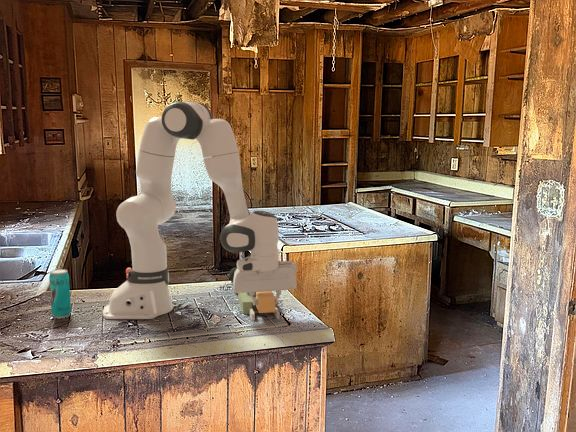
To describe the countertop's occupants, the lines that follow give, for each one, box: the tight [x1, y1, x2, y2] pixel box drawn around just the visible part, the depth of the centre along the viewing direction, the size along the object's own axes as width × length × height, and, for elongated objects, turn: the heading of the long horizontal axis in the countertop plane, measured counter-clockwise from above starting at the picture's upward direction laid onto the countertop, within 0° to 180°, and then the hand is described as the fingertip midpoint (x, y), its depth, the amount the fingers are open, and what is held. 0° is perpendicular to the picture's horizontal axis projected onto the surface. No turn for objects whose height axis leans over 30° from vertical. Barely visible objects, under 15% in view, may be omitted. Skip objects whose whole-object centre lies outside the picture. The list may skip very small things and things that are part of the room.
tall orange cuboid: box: [256, 291, 276, 314], centre depth 171 cm, size 5×7×5 cm
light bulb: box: [228, 266, 238, 295], centre depth 196 cm, size 6×6×10 cm
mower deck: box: [237, 292, 281, 322], centre depth 179 cm, size 11×20×9 cm, turn 12°
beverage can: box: [48, 268, 72, 320], centre depth 171 cm, size 6×6×15 cm
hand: (265, 304), depth 172 cm, fingers closed on tall orange cuboid, 5 cm apart
